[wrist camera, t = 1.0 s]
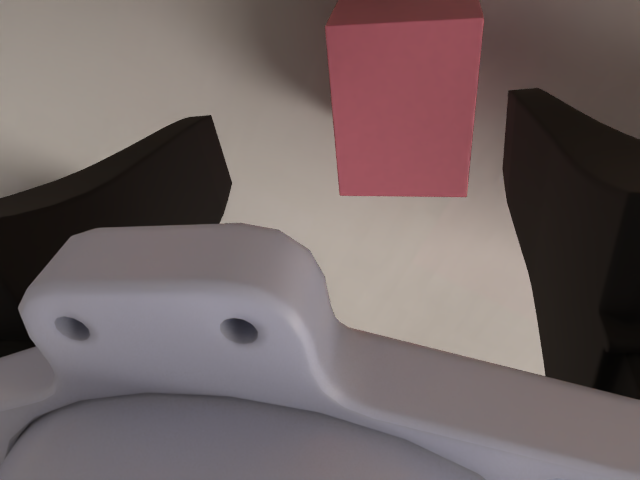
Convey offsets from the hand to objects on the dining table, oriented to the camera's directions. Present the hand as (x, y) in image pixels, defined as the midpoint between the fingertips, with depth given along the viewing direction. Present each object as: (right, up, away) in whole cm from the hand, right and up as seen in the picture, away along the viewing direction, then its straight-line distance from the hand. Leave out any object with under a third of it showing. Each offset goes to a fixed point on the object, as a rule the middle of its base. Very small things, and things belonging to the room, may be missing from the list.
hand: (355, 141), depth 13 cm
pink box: (+3, +5, +8) cm, 10 cm away
